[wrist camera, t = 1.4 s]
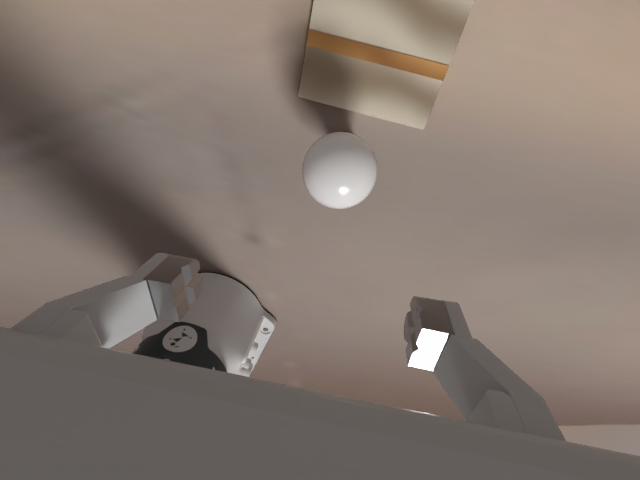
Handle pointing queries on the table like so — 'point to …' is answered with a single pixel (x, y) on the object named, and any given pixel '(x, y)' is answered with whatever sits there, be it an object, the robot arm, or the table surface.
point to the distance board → (381, 55)
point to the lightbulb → (339, 170)
